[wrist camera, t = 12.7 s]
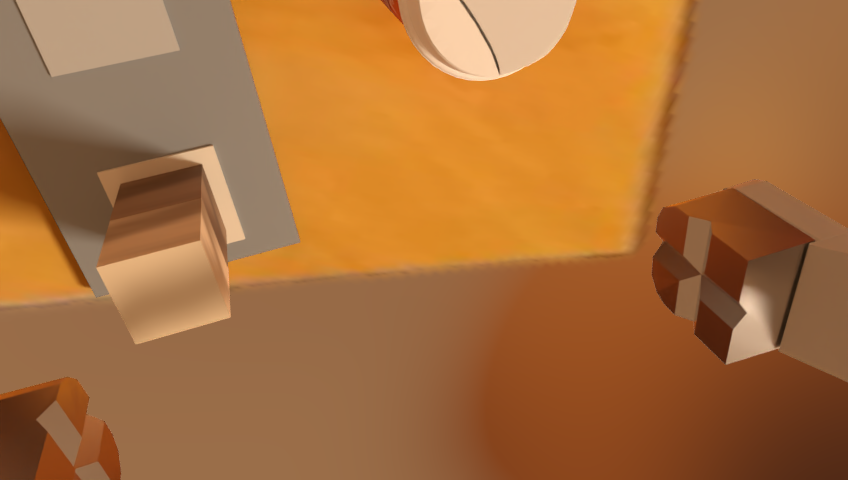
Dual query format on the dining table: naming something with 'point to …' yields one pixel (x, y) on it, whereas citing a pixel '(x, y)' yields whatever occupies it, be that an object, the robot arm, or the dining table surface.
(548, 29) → the coffee cup
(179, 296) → the maple block
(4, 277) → the dining table surface
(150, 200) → the walnut block
